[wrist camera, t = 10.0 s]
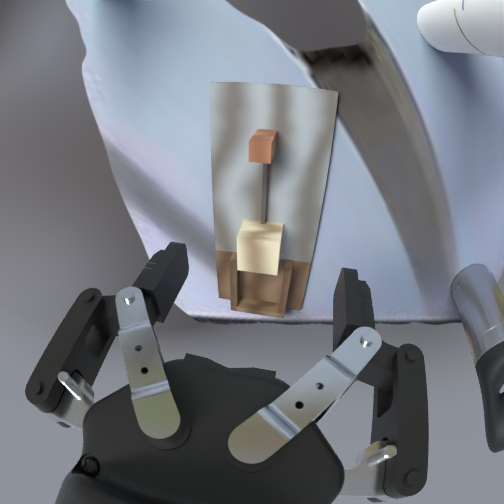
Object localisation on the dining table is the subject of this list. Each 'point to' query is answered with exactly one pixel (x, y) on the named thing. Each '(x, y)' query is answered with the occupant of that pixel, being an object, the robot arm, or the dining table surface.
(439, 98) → the dining table surface
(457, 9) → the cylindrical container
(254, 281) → the lane rack
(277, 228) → the rod-linked blocks
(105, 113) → the dining table surface
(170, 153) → the dining table surface
